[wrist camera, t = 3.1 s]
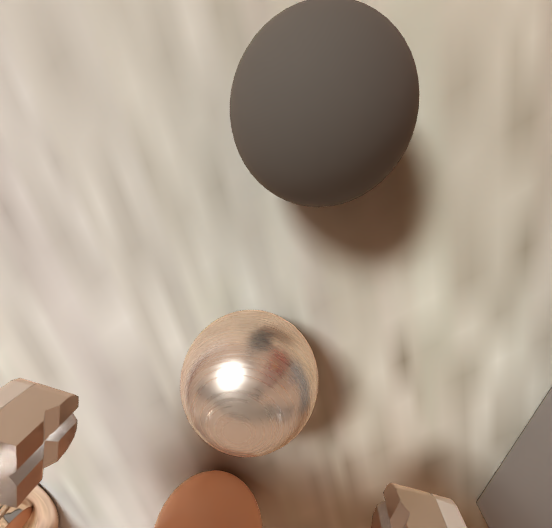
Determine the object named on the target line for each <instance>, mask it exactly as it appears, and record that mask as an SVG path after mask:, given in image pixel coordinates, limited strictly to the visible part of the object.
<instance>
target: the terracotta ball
mask: <svg viewBox="0 0 552 528" xmlns="http://www.w3.org/2000/svg"><path fill="white" fill-rule="evenodd" d="M154 528H262V520H261V514H260V511H259V507H258V504H257V502H256V500H255V498H254V496H253V494H252V492H251V491H250V489H249V488H248V487H247V485H246V484H245V483H244V482H243V481H242V480H240V479H239V478H238V477H236V476H234V475H233V474H230V473H228V472H224V471H218V470H213V471H205V472H201V473H199V474H196V475H194V476H192V477H190V478H189V479H187V480H186V481H184V482H183V483H182V484H181V485H180V486H178V487H177V488H176V489H175V490H174V492H173V493H172V494H171V495H170V496H169V498H168V499H167V501H166V502H165V504H164V505H163V507H162V509H161V511H160V513H159V516H158V518H157V521H156V524H155V527H154Z"/></svg>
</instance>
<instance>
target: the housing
mask: <svg viewBox="0 0 552 528" xmlns="http://www.w3.org/2000/svg"><path fill="white" fill-rule="evenodd" d="M476 503H477V505H478V507H479V509H480V511H481V513H482V515H483V517H484V519H485V521H486V523H487V525H488V527H489V528H552V388H551V389H550V391H549V392H548V394H547V395H546V397H545V398H544V400H543V401H542V403H541V404H540V406H539V408H538V409H537V411H536V412H535V414H534V415H533V417H532V418H531V420H530V421H529V423H528V424H527V426H526V427H525V429H524V430H523V432H522V433H521V435H520V437H519V438H518V440H517V441H516V443H515V444H514V446H513V447H512V449H511V450H510V452H509V453H508V455H507V456H506V458H505V459H504V461H503V462H502V464H501V466H500V467H499V469H498V470H497V472H496V473H495V475H494V476H493V478H492V479H491V481H490V482H489V484H488V485H487V487H486V488H485V490H484V491H483V493H482V494H481V496H480V498H479V499H478V501H477V502H476Z"/></svg>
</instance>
